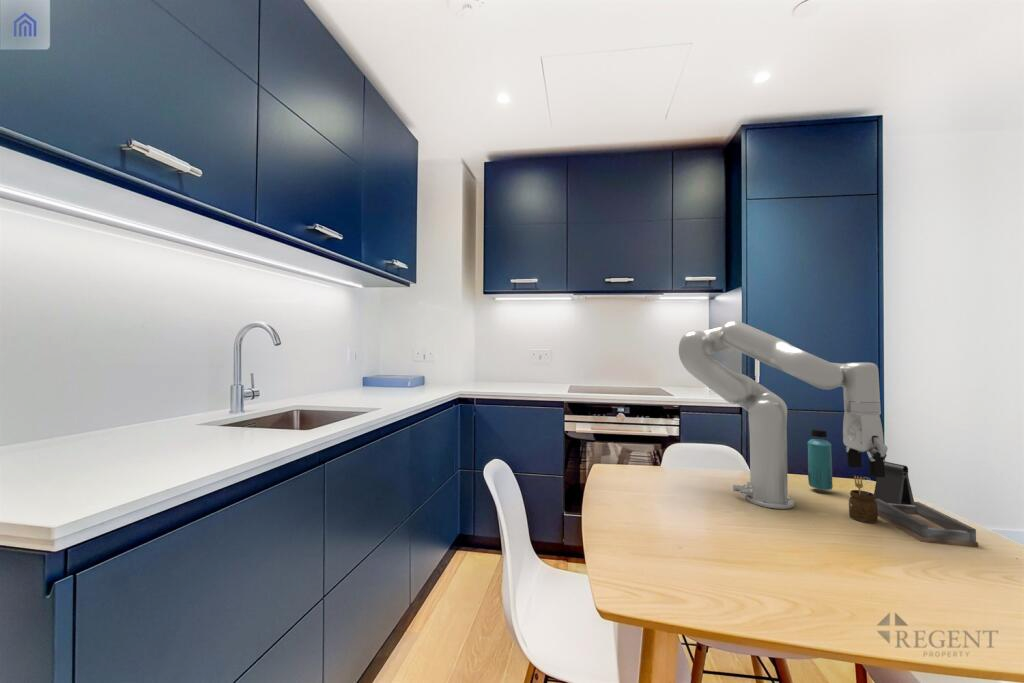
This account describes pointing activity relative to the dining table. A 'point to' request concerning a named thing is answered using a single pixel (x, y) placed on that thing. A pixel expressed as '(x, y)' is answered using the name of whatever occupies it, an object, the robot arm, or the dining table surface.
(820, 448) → the beverage bottle
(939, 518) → the gray framed rectangular tray
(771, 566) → the dining table surface
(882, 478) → the phone stand
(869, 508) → the utensil holder
